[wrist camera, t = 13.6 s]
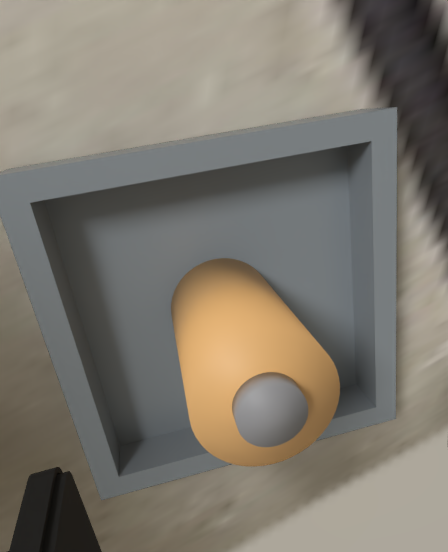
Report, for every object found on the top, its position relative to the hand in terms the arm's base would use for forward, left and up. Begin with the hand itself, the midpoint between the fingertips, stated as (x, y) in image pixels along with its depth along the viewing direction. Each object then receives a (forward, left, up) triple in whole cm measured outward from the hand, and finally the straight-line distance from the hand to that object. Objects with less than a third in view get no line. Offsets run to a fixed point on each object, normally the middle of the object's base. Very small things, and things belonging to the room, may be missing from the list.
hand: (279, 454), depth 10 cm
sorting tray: (0, +1, -10) cm, 10 cm away
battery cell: (0, 0, -9) cm, 9 cm away
